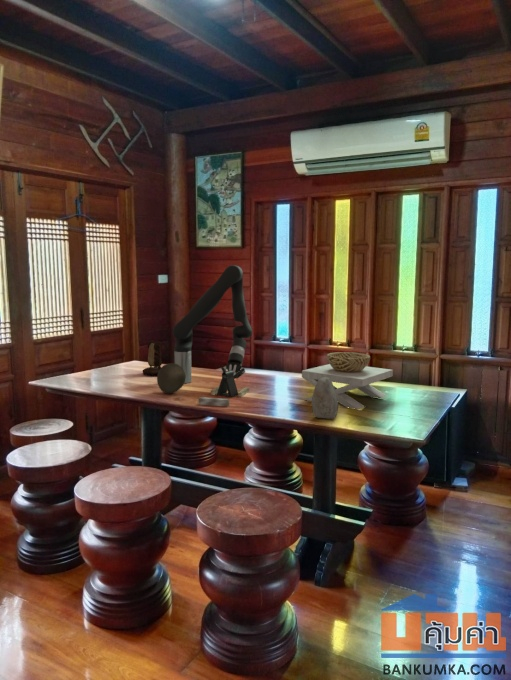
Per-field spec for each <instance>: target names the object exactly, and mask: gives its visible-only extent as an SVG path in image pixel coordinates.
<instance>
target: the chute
mask: <svg viewBox="0 0 511 680" xmlns="http://www.w3.org/2000/svg"><path fill="white" fill-rule="evenodd" d="M219 386H220V384H219V385H217V386H216V387H214V388H213V389H211V390H210V396H215V394H216V395H217V392H218V389H219ZM248 391H249V392H250V387H249V386H246V387H244V388H242V389H241V390H240V391H238V395H237V397H239V398H243V397H244V396H245V395H246V394H248V393H249V392H248ZM243 395H244V396H243ZM198 405H200V406H201V405H202V406H215V407H229V406H230V398H218V397H205V396H202V397H201V396H200V397H198Z"/></svg>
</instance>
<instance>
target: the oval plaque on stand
mask: <svg viewBox="0 0 511 680" xmlns="http://www.w3.org/2000/svg"><path fill="white" fill-rule="evenodd" d="M147 348H148V352H147V353H148V354H147V355H148V356H147V364H148V366H149V367H146V368H143V370H142V374H143V375H151V377H152V376H153V377H154V375H158V372H159V370H160V369H161V367H162V366H163V365H162V364H163V359H162V358H161V357H162V353H161V352H162V351H161V350H162V348H163V344H162V342H160V341H154V340H149V341H148V343H147Z"/></svg>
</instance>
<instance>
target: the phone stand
mask: <svg viewBox="0 0 511 680" xmlns="http://www.w3.org/2000/svg"><path fill="white" fill-rule="evenodd" d="M219 385H220V386H219ZM219 385H218V386H219V389H218V392H217V394H216V395H217V396H221V397H227V398H233V397H238V392H239V391H238V388H237V387H238V386H237V385H236V380H235V379H234V372H233V371H231V370H230V371H228V370H226V372H223V371H222V373H221V380H220V383H219Z"/></svg>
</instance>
